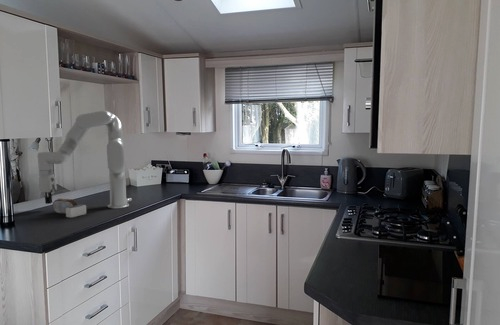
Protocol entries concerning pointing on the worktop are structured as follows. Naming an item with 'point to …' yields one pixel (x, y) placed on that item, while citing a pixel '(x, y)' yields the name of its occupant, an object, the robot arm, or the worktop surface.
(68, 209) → the block
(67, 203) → the bread slice
